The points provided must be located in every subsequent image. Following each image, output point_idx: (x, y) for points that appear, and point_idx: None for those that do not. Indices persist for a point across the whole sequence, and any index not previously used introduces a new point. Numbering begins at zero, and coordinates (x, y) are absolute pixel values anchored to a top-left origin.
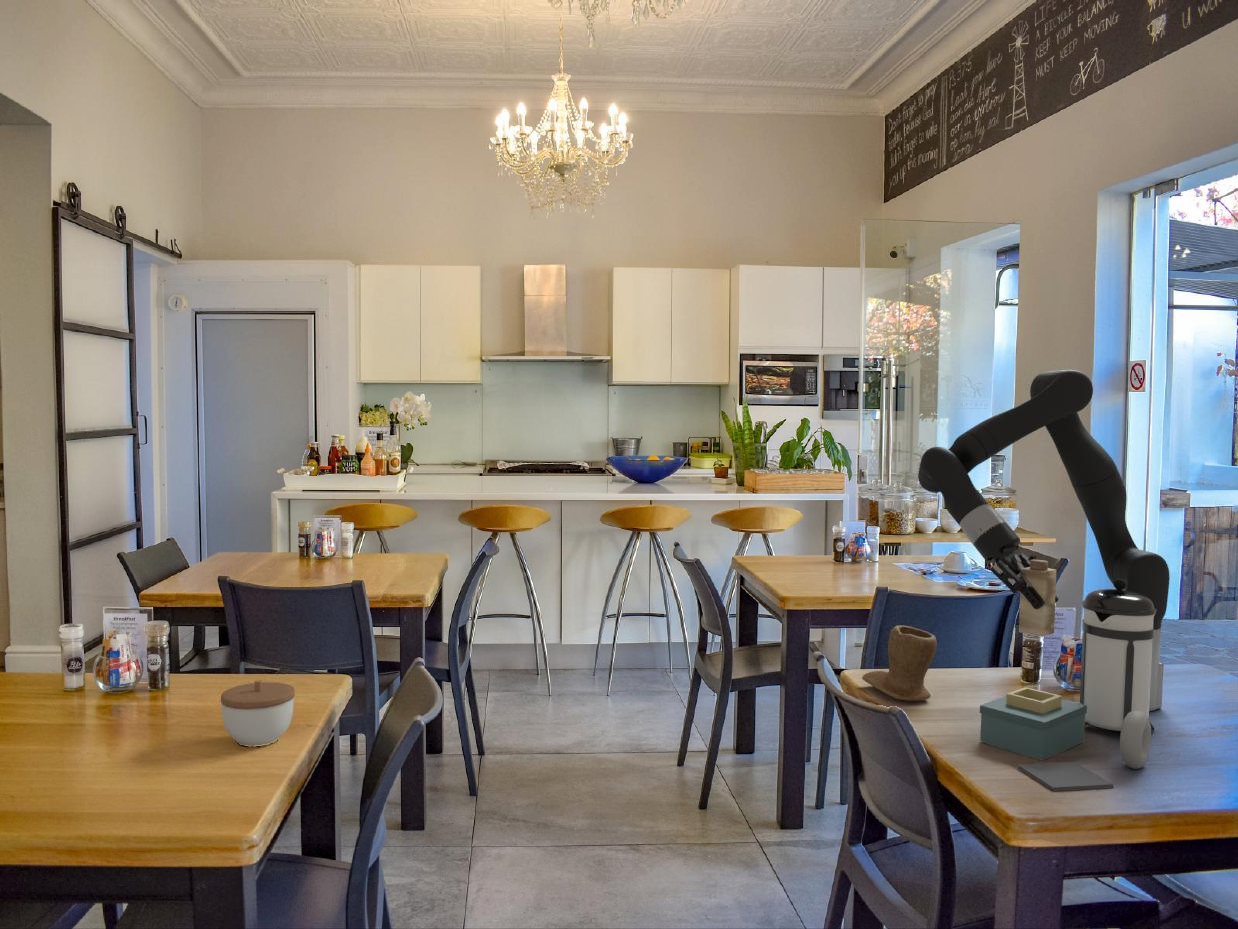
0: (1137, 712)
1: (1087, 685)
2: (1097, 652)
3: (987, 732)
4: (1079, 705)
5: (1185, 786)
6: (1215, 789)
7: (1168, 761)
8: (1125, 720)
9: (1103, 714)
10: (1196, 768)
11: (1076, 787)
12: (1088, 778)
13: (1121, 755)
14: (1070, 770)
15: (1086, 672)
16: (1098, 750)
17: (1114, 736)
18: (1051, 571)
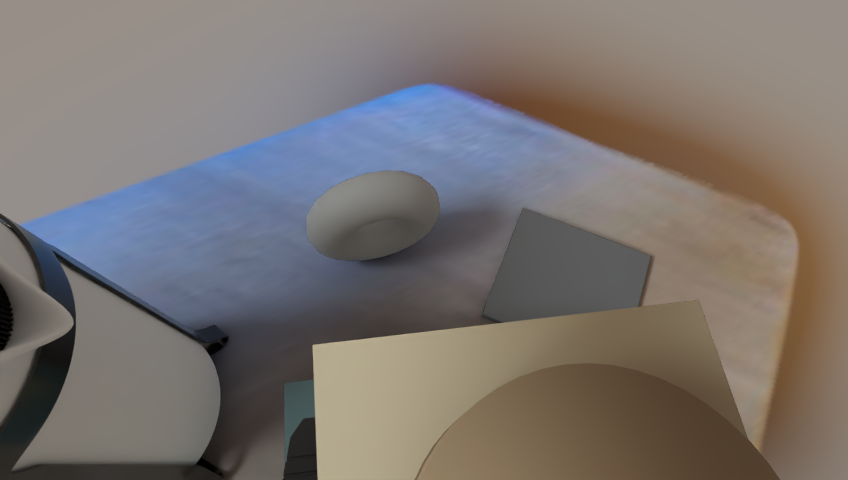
0: (373, 181)
1: (161, 443)
2: (107, 387)
3: None
4: (306, 394)
5: (392, 152)
6: (359, 121)
7: (278, 228)
8: (413, 199)
9: (210, 386)
10: (273, 182)
11: (599, 238)
12: (542, 247)
13: (427, 233)
14: (538, 290)
15: (134, 451)
16: None
17: None
18: (475, 330)
